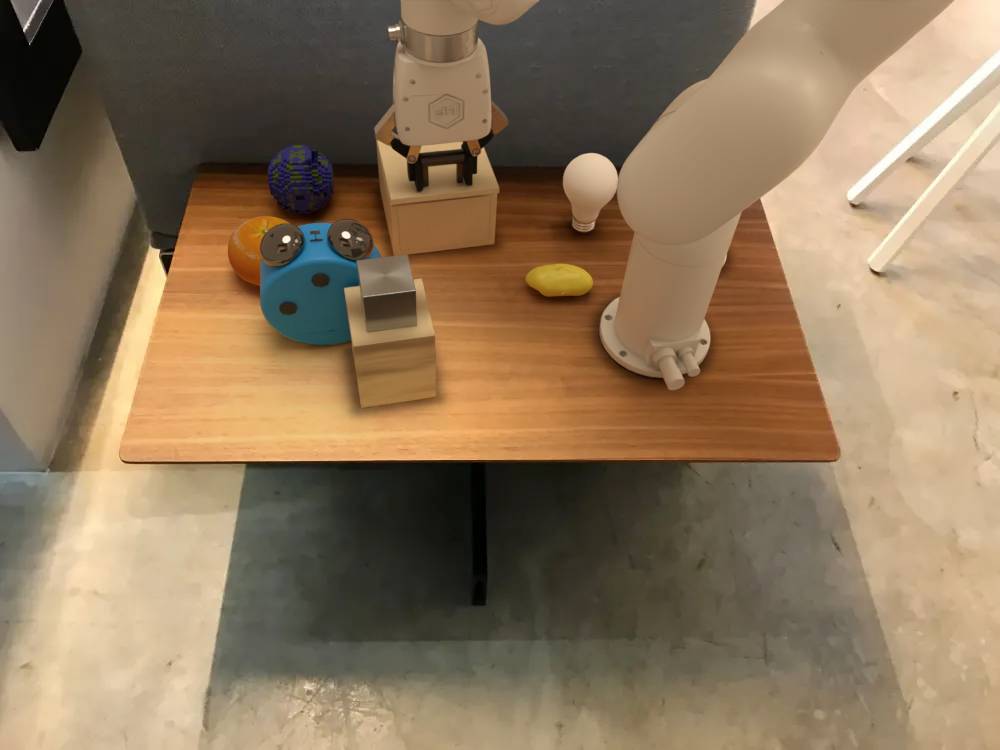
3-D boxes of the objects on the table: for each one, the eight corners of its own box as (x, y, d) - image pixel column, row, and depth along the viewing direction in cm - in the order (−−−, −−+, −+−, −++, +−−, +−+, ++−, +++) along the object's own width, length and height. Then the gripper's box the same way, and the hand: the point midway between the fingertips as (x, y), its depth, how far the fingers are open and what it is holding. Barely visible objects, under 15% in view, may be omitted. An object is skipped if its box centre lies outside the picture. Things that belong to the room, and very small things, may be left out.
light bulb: (547, 233, 108) (555, 163, 100) (572, 205, 112) (582, 134, 103) (593, 254, 106) (606, 184, 98) (617, 225, 110) (631, 154, 101)
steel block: (417, 326, 84) (415, 290, 80) (366, 332, 83) (362, 297, 79) (409, 290, 87) (407, 254, 83) (360, 296, 86) (356, 260, 82)
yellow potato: (590, 307, 101) (595, 283, 98) (523, 300, 101) (525, 276, 98) (591, 281, 103) (595, 258, 100) (525, 275, 103) (528, 251, 100)
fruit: (317, 274, 97) (278, 212, 93) (251, 309, 97) (210, 250, 94) (317, 253, 104) (281, 195, 101) (256, 286, 105) (218, 230, 101)
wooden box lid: (499, 193, 99) (500, 156, 96) (391, 205, 97) (388, 167, 93) (475, 131, 108) (476, 95, 104) (376, 140, 106) (373, 104, 102)
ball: (276, 183, 112) (267, 134, 106) (336, 181, 113) (329, 132, 107) (273, 224, 107) (263, 175, 101) (335, 222, 108) (328, 173, 102)
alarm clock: (386, 303, 99) (377, 202, 88) (391, 343, 96) (382, 243, 84) (271, 313, 98) (247, 212, 86) (271, 354, 94) (246, 254, 82)
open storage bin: (494, 244, 107) (497, 195, 100) (393, 256, 104) (390, 206, 98) (474, 180, 114) (475, 131, 108) (380, 190, 112) (376, 140, 106)
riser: (436, 397, 91) (435, 335, 83) (361, 408, 90) (352, 346, 82) (423, 341, 96) (421, 278, 88) (352, 351, 95) (343, 287, 87)
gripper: (359, 62, 81) (373, 210, 95) (532, 46, 84) (521, 193, 98) (349, 21, 86) (364, 169, 100) (514, 8, 89) (506, 153, 103)
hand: (442, 179), depth 99 cm, fingers closed on wooden box lid, 5 cm apart
